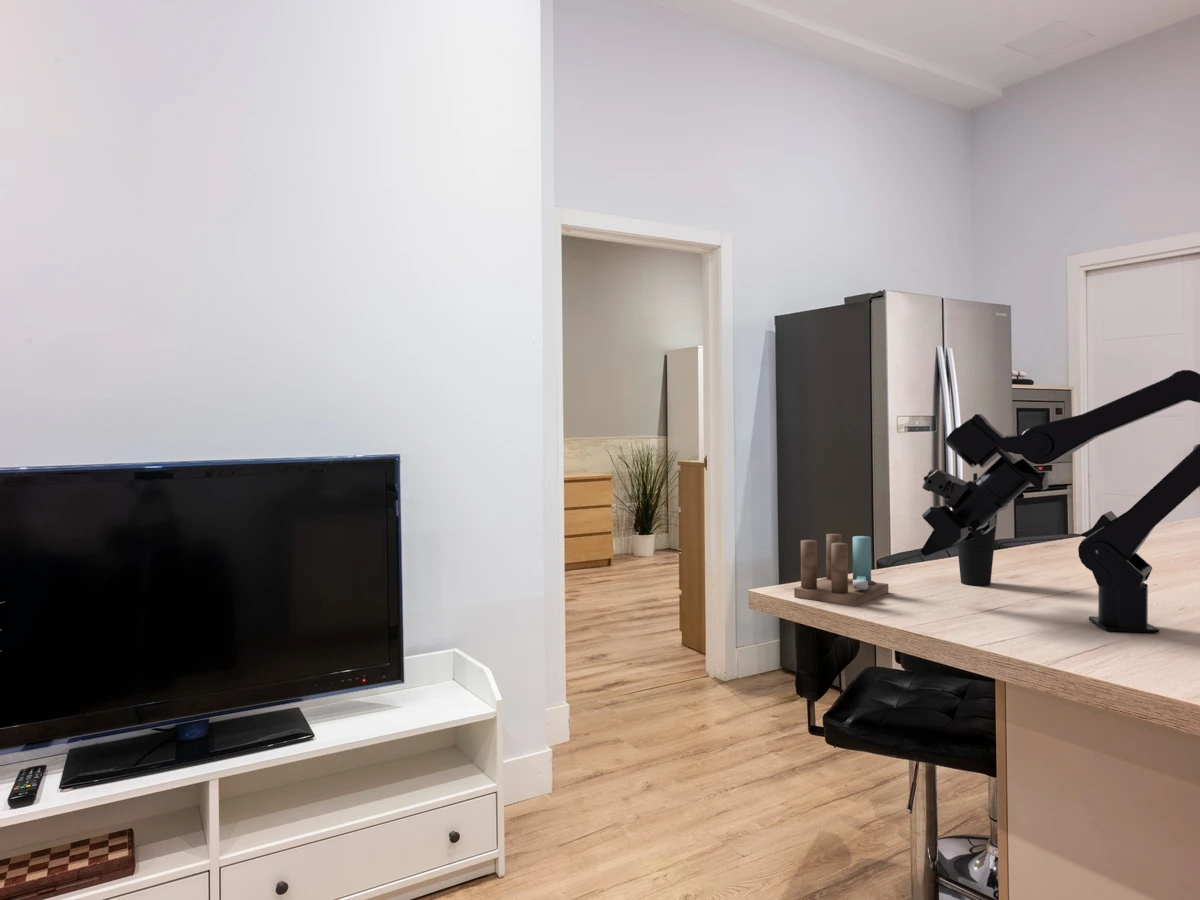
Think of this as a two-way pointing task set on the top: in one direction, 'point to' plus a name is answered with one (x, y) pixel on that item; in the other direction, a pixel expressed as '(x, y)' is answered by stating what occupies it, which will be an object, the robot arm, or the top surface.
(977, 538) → the drinking cup
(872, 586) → the brown peg stand
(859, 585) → the hinged leg
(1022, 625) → the top surface
